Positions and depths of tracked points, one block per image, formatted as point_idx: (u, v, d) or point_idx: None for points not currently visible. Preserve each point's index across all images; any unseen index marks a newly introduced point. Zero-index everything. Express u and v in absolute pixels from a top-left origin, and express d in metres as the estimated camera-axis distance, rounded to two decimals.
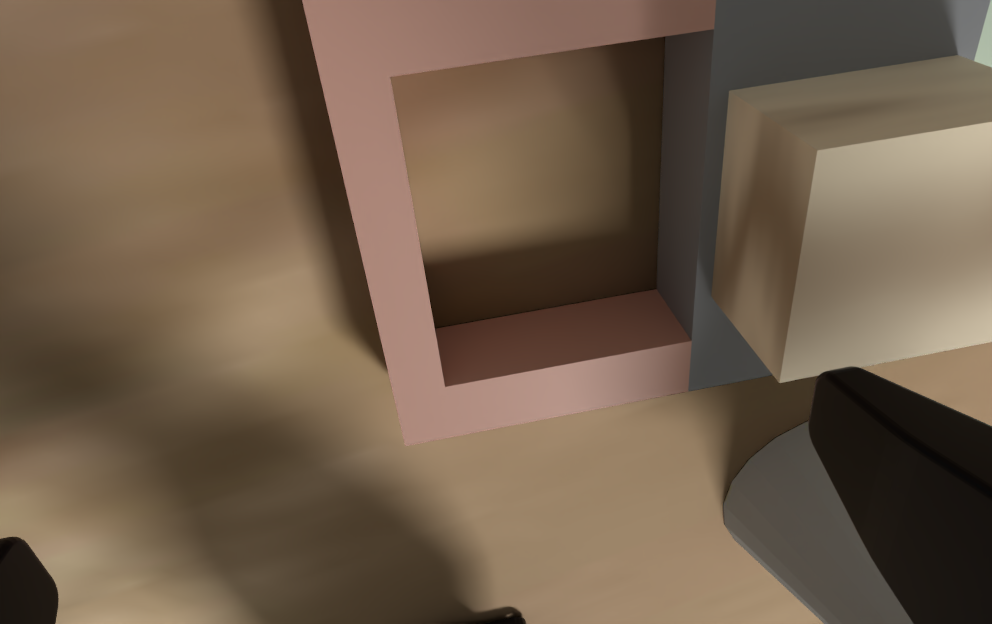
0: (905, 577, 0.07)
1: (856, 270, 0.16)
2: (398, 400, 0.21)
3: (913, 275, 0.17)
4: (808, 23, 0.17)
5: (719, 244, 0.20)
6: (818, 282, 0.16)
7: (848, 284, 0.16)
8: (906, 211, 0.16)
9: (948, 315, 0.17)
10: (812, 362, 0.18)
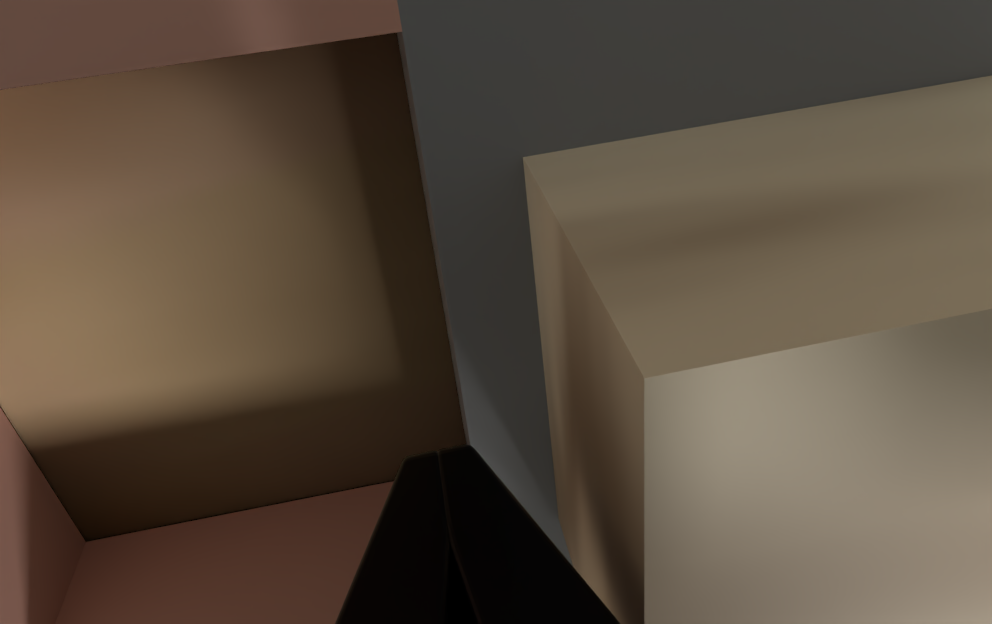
0: None
1: (798, 611, 0.07)
2: None
3: (940, 604, 0.07)
4: (633, 19, 0.07)
5: (553, 443, 0.10)
6: None
7: None
8: (919, 490, 0.06)
9: None
10: None
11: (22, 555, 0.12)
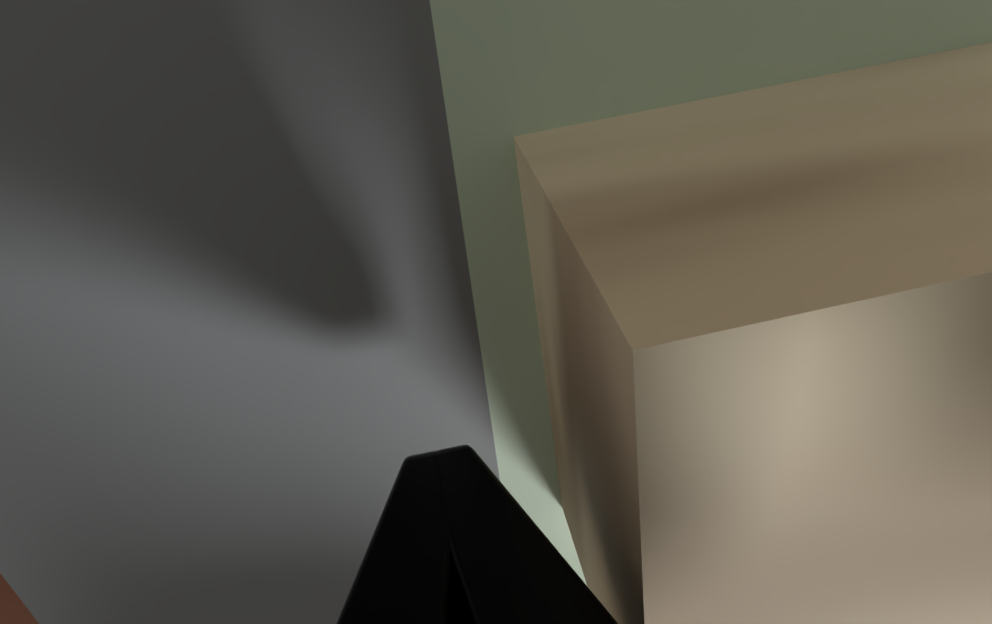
0: None
1: (802, 591, 0.06)
2: None
3: (950, 583, 0.07)
4: None
5: (554, 430, 0.10)
6: None
7: (786, 619, 0.07)
8: (925, 464, 0.06)
9: None
10: None
11: None
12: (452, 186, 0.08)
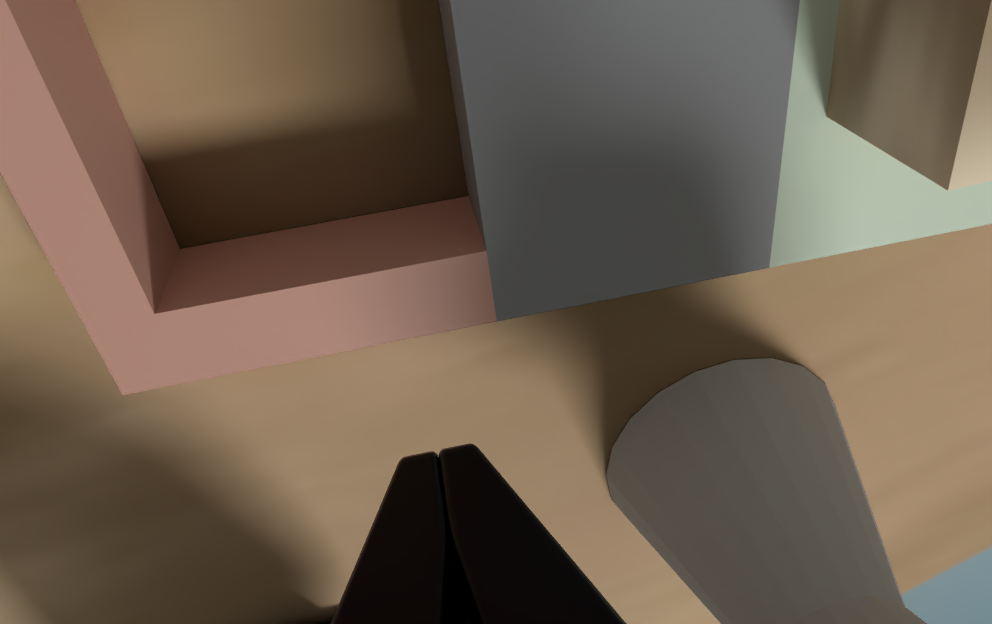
0: None
1: None
2: (93, 332, 0.16)
3: None
4: None
5: (842, 34, 0.15)
6: None
7: None
8: None
9: None
10: None
11: (144, 224, 0.17)
12: None
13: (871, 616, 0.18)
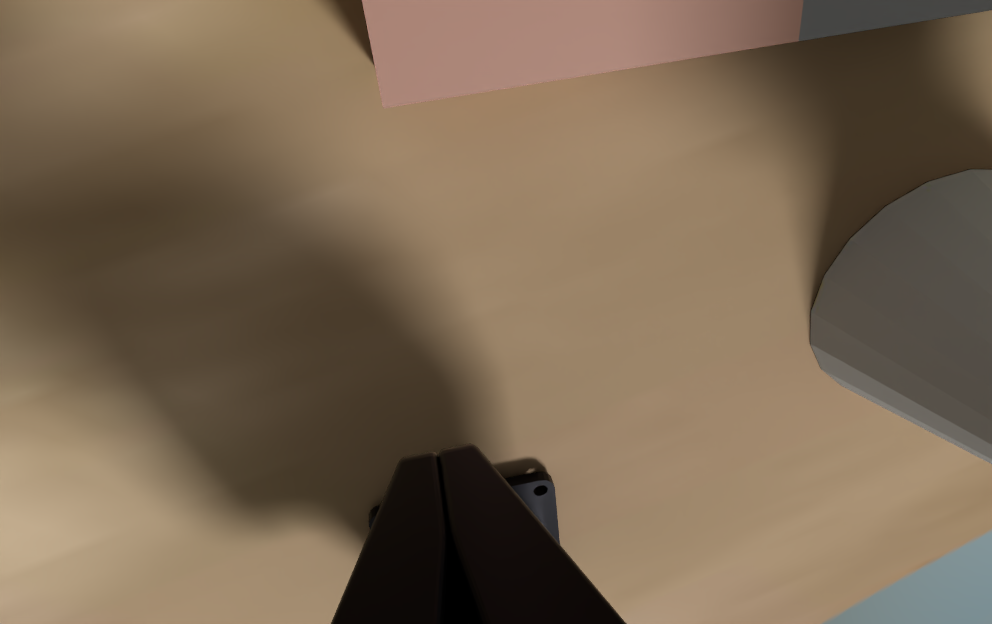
0: None
1: None
2: (370, 13, 0.14)
3: None
4: None
5: None
6: None
7: None
8: None
9: None
10: None
11: None
12: None
13: None
